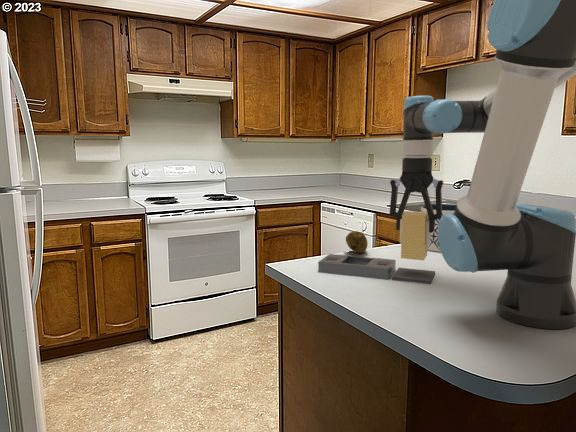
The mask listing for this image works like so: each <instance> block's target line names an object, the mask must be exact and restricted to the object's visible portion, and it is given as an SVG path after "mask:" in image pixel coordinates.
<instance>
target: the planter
mask: <svg viewBox="0 0 576 432" xmlns="http://www.w3.org/2000/svg"><path fill="white" fill-rule="evenodd" d="M431 205H432V208H433V212H434V214H436V203H435V204H434V203H433V204H432V203H431ZM455 208H456V204H451V203H450V204H449V203H446V204H445V203H442V217H443V216H444V215H446V214H448V213H451V214H454V212H455ZM420 212H427V210H426V206H425V204H424V205H422V206H421V207H420ZM428 219H429V217H428ZM440 219H441V218H439V219H436V220H435V224H434V231H433V232H430V243H429V245H427V251H430V252H434V253H435V252H436V253H441V250H440V246H439V242H438V224H439V221H440Z"/></svg>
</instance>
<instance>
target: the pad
mask: <svg viewBox="0 0 576 432" xmlns="http://www.w3.org/2000/svg"><path fill="white" fill-rule="evenodd" d="M435 275H436V270H427V269H426V270H425V269H417V268H416V269H415V268H407V267H398V268H397V270H395V271H394V272H393V274H392V275H391V280H392V281H399V282H408V283H418V284H424V285H425V284H427V285H431V284H432V281H433V279H434V277H435Z"/></svg>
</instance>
